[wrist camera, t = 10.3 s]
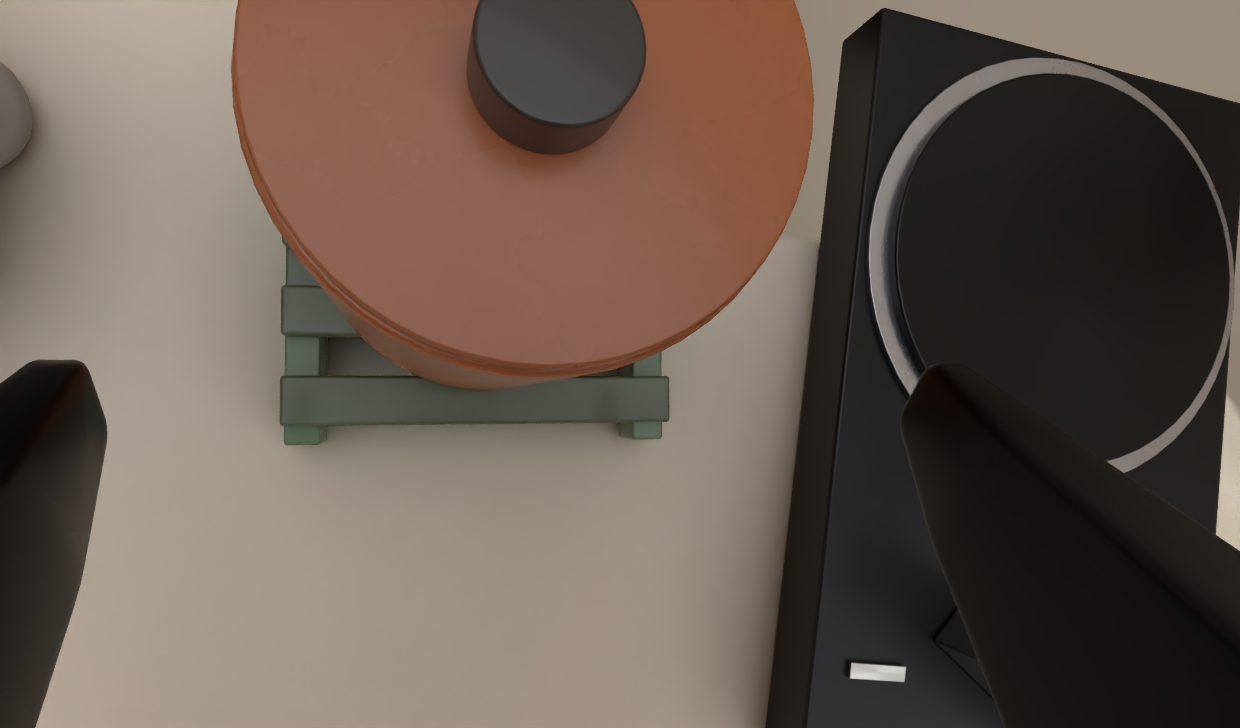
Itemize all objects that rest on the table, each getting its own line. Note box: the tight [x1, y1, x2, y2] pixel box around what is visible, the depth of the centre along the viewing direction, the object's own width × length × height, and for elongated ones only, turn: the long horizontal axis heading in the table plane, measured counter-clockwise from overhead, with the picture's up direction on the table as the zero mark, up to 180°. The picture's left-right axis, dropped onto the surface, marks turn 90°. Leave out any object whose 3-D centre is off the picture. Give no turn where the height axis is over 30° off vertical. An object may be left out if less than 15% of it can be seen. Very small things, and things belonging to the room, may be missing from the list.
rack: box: [280, 236, 669, 445], centre depth 18 cm, size 9×8×3 cm
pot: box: [231, 0, 814, 390], centre depth 13 cm, size 7×7×9 cm
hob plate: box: [865, 58, 1235, 473], centre depth 21 cm, size 11×11×1 cm
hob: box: [766, 8, 1240, 728], centre depth 22 cm, size 20×11×2 cm, turn 172°
